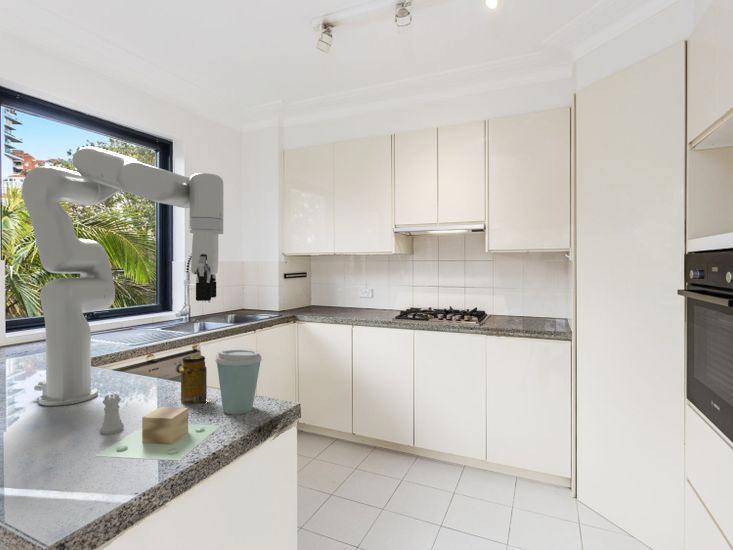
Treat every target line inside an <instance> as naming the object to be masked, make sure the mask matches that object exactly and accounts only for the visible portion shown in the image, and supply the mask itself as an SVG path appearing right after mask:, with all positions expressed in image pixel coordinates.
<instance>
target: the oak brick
mask: <svg viewBox="0 0 733 550" xmlns="http://www.w3.org/2000/svg"><path fill="white" fill-rule="evenodd" d="M141 419H142V420H141V424H142V426H141V427H142V443H152V444H173V443H175V442H176V441H177V440H178V439H180V438H181V437H182V436H184V435H185V434H186V433H188V424H189V407H179V406H178V407H175V406H172V407H171V406H160V407H158V408H155V409H154V410H153V411H151V412H149V413H147V414H146V415H144V416H142V418H141Z"/></svg>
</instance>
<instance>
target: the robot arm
mask: <svg viewBox="0 0 733 550" xmlns="http://www.w3.org/2000/svg"><path fill="white" fill-rule="evenodd" d="M72 165H73V168H74V169H75V171H73V170H70V169H67V168H62V167H59V166H58V167H57V166H51V165H50V166H49V165H43V166H42V165H41V166H39V165H38V166H36V167H33V168H32V169H30V170H29V171H28V172H27V173H26V175H25V176H24V179H23V182H22V186H21V197H22V200H23V203H24V206H25V208H26V210H27V213H28V216H29V218H30V221H31V224H32V228H33V233H34V234H33V235H34V238H35V239H34V240H35V242H36V247H37V252H38V256H39V260H40V264H41V266H42V268H43V269H44V270H45V271H46V272H49V273H52V274H79V277H78V276H77V277H73V276H72V277H60V278H56V279H52V280H50V281H48V282H46V283H45V284H44V285H43V287H42V288H41V290H40V294H39V299H40V304H41V309H42V312H43V313H42V314H43V317H44V326H45V327H44V328H45V363H46V364H45V380H40V381H38V383H37V384H36V385H34V391H38V392H39V391H40V392H41V391H42V392H41V393H42V395H40V396H39V397H38V399H37V400H38V404H39V405H41V406H48V407H50V406H51V407H52V406H53V407H55V406H67V405H75V404H77V403H78V404H79V403H82V402H85V401H88V400H92V399H94V398H96V397H97V395H98V394H99V389H98V388H96V387H92V349H91V348H92V343H91V342H92V335H91V333H92V332H91V327H90V326H91V325H90V323H89V322H88V320H87V318H86V317H85V316H84V313H90V312H96V311H97V312H99V311H103V310H106V309H109V308H110V307H111V306H112V305H113V303H114V301H115V298H116V289H115V287H116V286H115V283H114V282H115V281H114V278H113V273H112V268H111V263H110V260H109V259H110V258H109V255H108V252H107V251H106V249H105V247H104V246H103V245H102V244H100V243H99V241H96V240H92V239H86V238H78V236H77V234H76V230H75V227H74V226H75V225H74V223H73V219H72V218H71V216H70V214H69V213H68V212H67V210H66V209H65V208H64V207H63V206H62V205H61V202H62V203H69V204H74V205H80V206H81V205H82V206H87V207H88V206H89V207H91V206H97V205H99V204H101V203H102V202H104V201H106V200H108V199H109V198H111V197H112V196H115V195H116V194H118V193H120V192H124V193H128V194H131V195H133V196H137V197H140V198H142V199H144V200H145V199H146V200H148V201H152V202H156V203H160V204H163V205H169V206H173V207H177V208H183V209H189V233H191V234H193V235H192V241H191V242H192V244H191V260H190V261H191V263H190V264H191V266H190V272H191V274H192V275H196V279H195V280H196V281H195V301H196V302H210V301H211V300H212V298H216V297H217V277H216V274H217V273H218V271H219V270H218V269H219V235H223V234H224V181H223V178H222V177H221V176H219V175H217V174H215V173H207V172H199V173H198V172H197V173H194V174H192V175H191V176H190V177H188V176H184V175H181V174H178V173H175V172H172V171H169V170H167V169H163V168H160V167H157V166H153V165H149V164H145V163H142V162H140V161H139V160H138V159H136V158H133V157H129V156H126V155H123V154H119V153H116V152H114V151H110V150H106V149H103V148H99V147H95V146H84V147H81V148H80V149H78V150H76V151H75V153H74V154H73V156H72Z"/></svg>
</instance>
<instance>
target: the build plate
mask: <svg viewBox="0 0 733 550" xmlns="http://www.w3.org/2000/svg"><path fill="white" fill-rule="evenodd" d="M220 427H221V425H218V424H215V425H214V424H198V423H197V424H196V423H195V424H193V423H188V433H186V434H185V435H184V436H182V437H181V438H180V439H178V440H177V441H176V442H175V443H173V444H152V443H142V426H141V427H140V428H138V429H136V430H135V431H133V432H132V433H130V434H128V435H127V436H125V437H123V438H122V439H120V440H119V441H117V442H115V443H113V444H112V445H110V446H109V447H107V448H105V449H103V450H102V451H100V452H98V453H97V454H96V455H94V457H103V458H122V459H124V458H125V459H141V460H154V461H155V460H158V461H159V460H160V461H177V462H179V461H181V460H183V459H184V458H185V457H186V456H187V455H188V454H190V453H191V452H192V451H193V450H194V449H195V448H196V447H198V446H199V445H200V444H201V443H202V442H204V440H205V439H207V438H208V437H210V435H212V434H213V433H214V432H215V431H216V430H217V429H218V428H220Z"/></svg>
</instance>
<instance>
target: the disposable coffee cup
mask: <svg viewBox="0 0 733 550" xmlns="http://www.w3.org/2000/svg"><path fill="white" fill-rule="evenodd" d="M262 361H263V359H262V355H261V354H260V352H258V351H257V350H252V349H226V350H225V349H224V350H219V351H218V352H217V355H216V356H215V363H216V367H217V374H218V383H219V391H220V397H221V406H222V407H221V408H222V411H223V413H225V414H227V415H242V414H245V413H248V412H251V411H252V410H253V407H254V402H255V396H256V391H257V384H258V379H259V373H260V366H261V362H262Z"/></svg>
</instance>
